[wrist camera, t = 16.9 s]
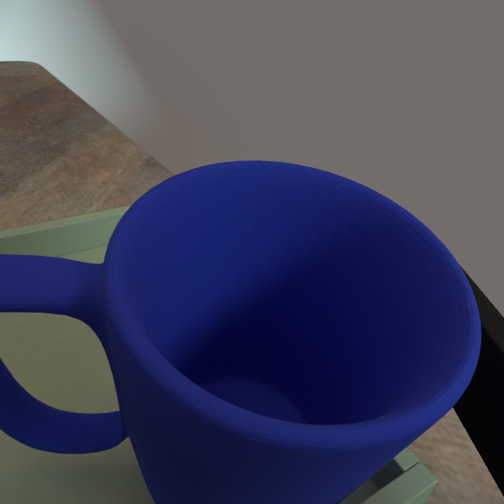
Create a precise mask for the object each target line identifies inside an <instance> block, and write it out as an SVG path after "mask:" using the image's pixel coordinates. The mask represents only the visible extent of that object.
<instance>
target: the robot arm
mask: <svg viewBox="0 0 504 504" xmlns="http://www.w3.org/2000/svg"><path fill="white" fill-rule="evenodd" d="M460 267H461V266H460ZM461 269H462V270H463V268H462V267H461ZM463 272H464V274H465V276H466V278H467V280H468V282H469V284H470V286H471V289H472V291H473V294H474V297H475V300H476V303H477V307H478V310H479V316H480V322H481V346H480V354H479V358H478V362H477V366H476V369H475V372H474V374H473V376H472V379H471V381H470V383H469V385H468V387H467V388H466V390H465V391H464V393H463V394H462V396H461V397H460V399H459V400H458V401H457V402H456V404H455V405H454V406H453V408H454V410H455V412H456V414H457V415H458V417H459V419H460V421H461V422H462V424H463V426H464V428H465V429H466V431H467V433H468V435H469V437H470V438H471V440H472V442H473V444H474V445H475V447H476V449H477V451H478V452H479V454H480V456H481V458H482V459H483V461H484V463H485V465H486V466H487V468H488V470H489V472H490V473H491V475H492V477H493V479H494V480H495V482H496V484H497V486H498V487H499V489H500V491H501V493H502V494H503V496H504V317H503V316H502V315H501V314H500V313H499V311H498V310H497V309H496V308H495V307H494V305H493V304H492V303H491V302H490V301H489V300H488V298H487V297H486V296H485V295H484V294H483V292H482V291H481V290H480V289H479V287H478V286H477V285H476V284H475V283H474V282H473V280H472V279H471V278H470V277H469V276H468V274H467V273H466V272H465V271H464V270H463Z"/></svg>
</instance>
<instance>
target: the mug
mask: <svg viewBox="0 0 504 504" xmlns="http://www.w3.org/2000/svg"><path fill="white" fill-rule="evenodd" d="M0 312H20V313H48V314H57V315H66V316H69V317H72V318H75V319H78V320H81V321H82V322H84V323H85V324H87V325H88V326H89V327H90V328H91V329H92V330H93V331H94V333H95V334H96V335H97V337H98V339H99V340H100V342H101V344H102V346H103V348H104V350H105V353H106V356H107V358H108V362H109V365H110V368H111V372H112V375H113V380H114V384H115V389H116V394H117V399H118V405H119V411H114V412H108V413H76V412H68V411H64V410H59V409H56V408H54V407H51V406H49V405H46V404H45V403H43V402H41V401H39V400H37V399H36V398H35V397H33V396H32V395H31V394H30V393H28V392H27V391H26V390H25V389H24V388H23V387H22V386H21V385H20V384H19V383H18V382H17V381H16V379H15V378H14V377H13V375H12V374H11V372H10V371H9V370H8V368H7V367H6V365H5V364H4V362H3V361H2V360H1V358H0V429H1V430H2V431H3V432H4V433H6V434H7V435H8V436H10V437H11V438H13V439H15V440H16V441H18V442H20V443H22V444H24V445H26V446H28V447H31V448H34V449H38V450H42V451H47V452H52V453H59V454H88V453H96V452H101V451H105V450H109V449H112V448H114V447H116V446H118V445H119V444H120V443H121V442H123V441H124V440H125V439H126V438H127V437H129V439H130V441H131V444H132V447H133V450H134V453H135V456H136V458H137V461H138V464H139V467H140V470H141V473H142V475H143V478H144V480H145V483H146V485H147V488H148V490H149V492H150V494H151V496H152V498H153V500H154V502H155V503H156V504H340V503H341V502H342V501H343V500H344V499H346V498H347V497H348V496H349V495H350V494H351V493H353V492H354V491H355V490H356V489H357V488H359V487H360V486H361V485H362V484H363V483H365V482H366V481H367V480H368V479H369V478H371V477H372V476H373V475H374V474H375V473H376V472H378V471H379V470H380V469H381V468H382V467H384V466H385V465H386V464H387V463H388V462H390V461H391V460H392V459H393V458H394V457H395V456H397V455H398V454H399V453H400V452H401V451H403V450H404V449H405V448H406V447H407V446H409V445H410V444H411V443H412V442H413V441H415V440H416V439H417V438H418V437H419V436H420V435H422V434H423V433H424V432H425V431H426V430H428V429H429V428H430V427H431V426H432V425H434V424H435V423H436V422H437V421H438V420H439V419H441V418H442V417H443V416H444V415H445V414H446V413H447V412H448V411H449V410H450V409H451V408H452V407H453V406H454V405H455V404H456V402H457V401H458V400H459V399H460V397H461V396H462V394H463V393H464V391H465V390H466V388H467V387H468V385H469V383H470V381H471V379H472V376H473V374H474V372H475V369H476V366H477V362H478V358H479V354H480V346H481V322H480V316H479V310H478V307H477V303H476V300H475V297H474V294H473V291H472V289H471V286H470V284H469V282H468V280H467V278H466V276H465V274H464V272H463V270H462V269H461V267H460V265H459V264H458V262H457V261H456V259H455V258H454V257H453V255H452V254H451V253H450V251H449V250H448V249H447V248H446V246H445V245H444V244H443V243H442V242H441V241H440V240H439V239H438V238H437V237H436V236H435V234H434V233H433V232H432V231H431V230H430V229H429V228H428V227H427V226H425V225H424V224H423V223H422V222H420V221H419V220H418V219H417V218H416V217H414V216H413V215H412V214H411V213H410V212H408V211H407V210H406V209H404V208H402V207H401V206H399V205H398V204H396V203H395V202H393V201H392V200H390V199H388V198H386V197H385V196H383V195H381V194H380V193H378V192H376V191H374V190H372V189H370V188H368V187H366V186H364V185H362V184H359V183H357V182H355V181H352V180H350V179H348V178H345V177H342V176H339V175H336V174H333V173H330V172H327V171H323V170H320V169H316V168H312V167H307V166H302V165H297V164H290V163H283V162H274V161H233V162H224V163H216V164H212V165H206V166H202V167H199V168H195V169H191V170H189V171H186V172H183V173H180V174H178V175H175V176H173V177H171V178H169V179H167V180H165V181H163V182H162V183H160V184H158V185H157V186H155V187H153V188H152V189H150V190H149V191H147V192H146V193H145V194H144V195H143V196H141V197H140V198H139V199H138V200H137V201H135V202H134V203H133V204H132V205H131V207H130V208H129V209H128V210H127V211H126V212H125V214H124V215H123V216H122V218H121V219H120V221H119V222H118V224H117V225H116V227H115V229H114V231H113V233H112V235H111V238H110V240H109V243H108V246H107V250H106V253H105V257H104V262H103V263H100V264H94V263H86V262H81V261H76V260H71V259H66V258H59V257H48V256H38V255H16V254H0Z"/></svg>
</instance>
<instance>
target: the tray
mask: <svg viewBox="0 0 504 504" xmlns="http://www.w3.org/2000/svg"><path fill="white" fill-rule="evenodd" d="M130 207H131V205H130V206H124V207H119V208H114V209H109V210H104V211H99V212H94V213H89V214H84V215H78V216H73V217H68V218H63V219H58V220H53V221H48V222H43V223H38V224H33V225H27V226H22V227H17V228H12V229H7V230H2V231H0V254H16V255H38V256H48V257H59V258H66V259H71V260H76V261H81V262H86V263H94V264H100V263H103V262H104V257H105V253H106V250H107V246H108V243H109V240H110V238H111V235H112V233H113V231H114V229H115V227H116V225H117V224H118V222H119V221H120V219H121V218H122V216H123V215H124V214H125V212H126V211H127V210H128V209H129V208H130ZM0 358H1V360H2V361H3V362H4V364H5V365H6V367H7V368H8V370H9V371H10V372H11V374H12V375H13V377H14V378H15V379H16V381H17V382H18V383H19V384H20V385H21V386H22V387H23V388H24V389H25V390H26V391H27V392H28V393H30V394H31V395H32V396H33V397H35V398H36V399H37V400H39V401H41V402H43V403H45V404H46V405H49V406H51V407H54V408H56V409H59V410H64V411H68V412H76V413H108V412H114V411H119V405H118V399H117V394H116V389H115V384H114V380H113V375H112V372H111V368H110V365H109V362H108V358H107V356H106V353H105V350H104V348H103V346H102V344H101V342H100V340H99V339H98V337H97V335H96V334H95V333H94V331H93V330H92V329H91V328H90V327H89V326H88V325H87V324H85V323H84V322H82V321H81V320H78V319H75V318H72V317H69V316H66V315H57V314H48V313H20V312H0ZM437 482H438V479H437V478H436V477H435V476H434V475H433V474H432V473H431V472H430V471H429V470H428V469H427V468H426V467H425V466H424V464H423V463H422V462H419V460H418V458H417V457H416V456H415V455H414V454H413V453H412V452H411V451H410V450H409V449H408V448H407V447H406V448H405V449H404V450H403V451H401V452H400V453H399V454H398V455H397V456H395V457H394V458H393V459H392V460H391V461H390V462H388V463H387V464H386V465H385V466H384V467H382V468H381V469H380V470H379V471H378V472H376V473H375V474H374V475H373V476H372V477H371V478H369V479H368V480H367V481H366V482H365V483H363V484H362V485H361V486H360V487H359V488H357V489H356V490H355V491H354V492H353V493H351V494H350V495H349V496H348V497H347V498H346V499H344V500H343V501H342V502H341V503H340V504H425V503H426V501H427V500H428V498H429V496H430V494H431V493H432V491H433V489H434V487H435V486H436V484H437ZM0 504H156V503H155V502H154V500H153V498H152V496H151V494H150V492H149V490H148V488H147V485H146V483H145V480H144V478H143V475H142V473H141V470H140V467H139V464H138V461H137V458H136V456H135V453H134V450H133V447H132V444H131V441H130V439H129V437H127V438H126V439H125V440H124V441H123V442H121V443H120V444H119V445H118V446H116V447H114V448H112V449H109V450H105V451H101V452H96V453H88V454H59V453H52V452H47V451H42V450H38V449H34V448H31V447H28V446H26V445H24V444H22V443H20V442H18V441H16V440H15V439H13V438H11V437H10V436H8V435H7V434H6V433H4V432H3V431H2V430H1V429H0Z"/></svg>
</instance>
